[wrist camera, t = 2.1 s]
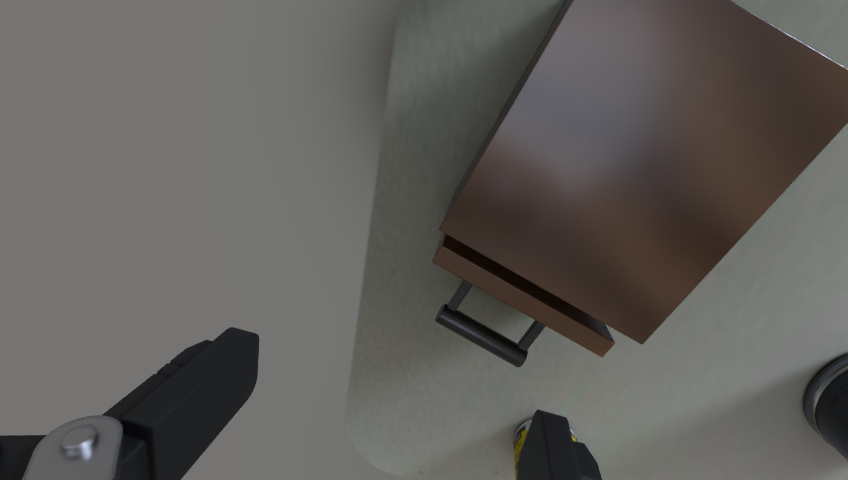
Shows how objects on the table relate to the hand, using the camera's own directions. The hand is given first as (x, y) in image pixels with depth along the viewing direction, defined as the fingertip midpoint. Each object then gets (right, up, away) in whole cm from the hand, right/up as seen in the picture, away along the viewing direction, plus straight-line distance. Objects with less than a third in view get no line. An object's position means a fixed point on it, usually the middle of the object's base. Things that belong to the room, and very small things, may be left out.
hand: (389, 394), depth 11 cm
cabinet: (+12, +11, +16) cm, 23 cm away
